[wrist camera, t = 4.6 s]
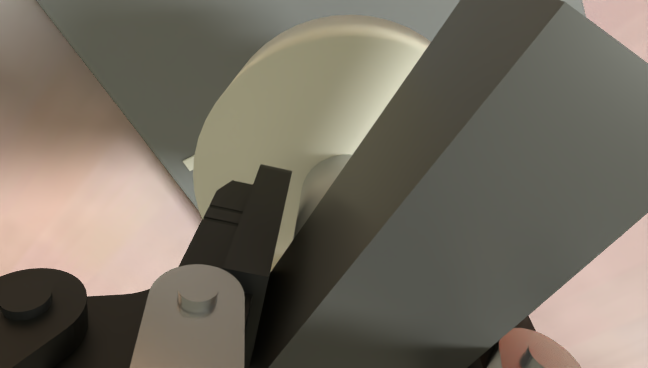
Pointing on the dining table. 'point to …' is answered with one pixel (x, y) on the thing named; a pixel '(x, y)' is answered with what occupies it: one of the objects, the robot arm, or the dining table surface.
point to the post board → (199, 54)
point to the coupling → (430, 176)
